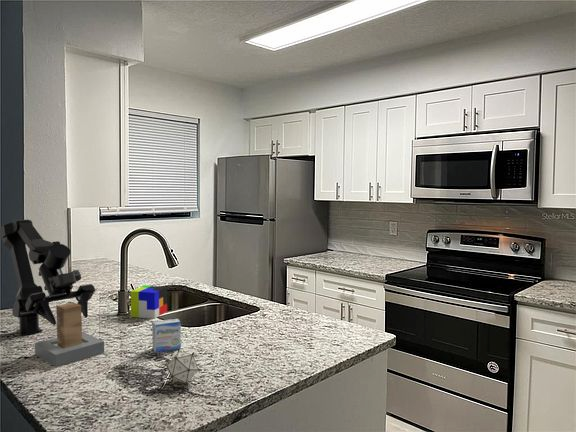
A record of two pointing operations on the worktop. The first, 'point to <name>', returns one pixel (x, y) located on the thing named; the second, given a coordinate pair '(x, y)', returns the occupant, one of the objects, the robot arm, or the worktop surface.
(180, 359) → the game die
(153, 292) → the puzzle toy
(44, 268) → the robot arm
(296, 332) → the worktop surface
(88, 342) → the base plate
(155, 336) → the medicine box
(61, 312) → the post
